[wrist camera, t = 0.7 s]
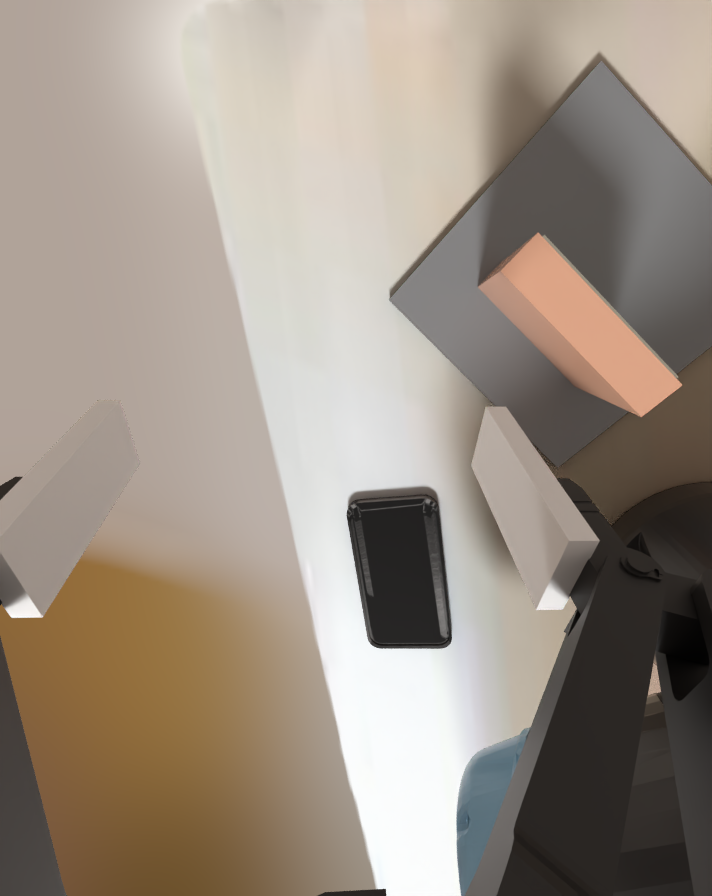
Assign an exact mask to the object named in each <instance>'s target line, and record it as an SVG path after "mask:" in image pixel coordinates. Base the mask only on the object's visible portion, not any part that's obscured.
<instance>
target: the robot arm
mask: <svg viewBox="0 0 712 896" xmlns="http://www.w3.org/2000/svg"><path fill="white" fill-rule="evenodd" d="M139 464H140V461H139V458H138V454H137V451H136V448H135V445H134V442H133V438H132V435H131V432H130V429H129V426H128V423H127V419H126V416H125V413H124V410H123V407H122V403H121V401H118V400H114V401H113V400H98V401H97V402H96V403H95V404H94V405H93V406H92V407H91V408H90V409H89V410H88V411H87V412H86V413H85V414H84V415H83V416H82V417H81V418H80V419H79V420H78V421H77V422H76V423H75V425H73V426H72V427H71V428H70V429H69V431H67V433H66V434H65V435H64V436H63V437H62V438H61V439H60V440H59V441H58V442H57V443H56V444H55V445H54V446H53V447H52V448H51V449H50V450H49V451H48V452H47V453H46V454H45V455H44V456H43V457H42V458H41V459H40V460H39V461H38V462H37V463H36V464H35V465H34V466H33V467H32V468H31V469H30V470H29V471H28V472H27V473H26V474H25V475H24V477H14V478H13V479H11V480H9V481H8V482H6V483H4V484H3V485H1V486H0V605H1V604H2V605H3V607H4V608H5V609H6V611H7V612H8V614H9V615H10V616H11V618H26V617H27V618H29V617H43V616H44V614H45V613H46V611H47V610H48V608H49V606H50V605H51V603H52V602H53V600H54V599H55V597H56V595H57V594H58V592H59V591H60V589H61V588H62V586H63V584H64V583H65V581H66V580H67V578H68V576H69V575H70V573H71V572H72V570H73V569H74V567H75V565H76V564H77V562H78V561H79V559H80V558H81V556H82V554H83V553H84V551H85V550H86V548H87V546H88V545H89V543H90V542H91V540H92V539H93V537H94V536H95V534H96V532H97V531H98V529H99V528H100V526H101V525H102V523H103V521H104V520H105V518H106V517H107V515H108V513H109V512H110V510H111V509H112V507H113V506H114V504H115V502H116V501H117V499H118V498H119V496H120V495H121V493H122V491H123V490H124V488H125V487H126V485H127V483H128V482H129V480H130V479H131V477H132V476H133V474H134V473H135V471H136V469H137V468H138V466H139ZM471 467H472V469H473V471H474V473H475V476H476V478H477V480H478V482H479V484H480V487H481V489H482V491H483V493H484V496H485V498H486V500H487V502H488V504H489V507H490V509H491V511H492V513H493V516H494V518H495V520H496V522H497V524H498V527H499V529H500V531H501V533H502V536H503V538H504V540H505V542H506V544H507V547H508V549H509V551H510V553H511V556H512V558H513V560H514V562H515V564H516V567H517V569H518V571H519V573H520V575H521V578H522V580H523V582H524V584H525V587H526V589H527V591H528V593H529V595H530V598H531V600H532V602H533V604H534V607H535V609H536V610H563V608H564V606H565V604H566V603H567V601H568V599H569V597H570V596H571V598H572V600H573V602H574V604H575V606H576V607H577V610H576V611H575V613H574V615H573V617H572V618H571V620H570V622H569V624H568V625H567V627H566V629H565V631H564V632H565V633H566V636H565V638H564V641H563V644H562V646H561V649H560V652H559V654H558V657H557V659H556V662H555V665H554V667H553V670H552V673H551V675H550V678H549V681H548V683H547V686H546V689H545V691H544V694H543V697H542V699H541V702H540V704H539V707H538V710H537V712H536V715H535V718H534V720H533V723H532V726H531V727H530V728H526V729H524V730H523V731H522V732H521V734H520V735H518V736H515V737H513V738H510V739H508V740H505V741H502V742H500V743H497V744H494V745H492V746H489V747H487V748H484V749H482V750H481V751H479V752H477V753H476V754H475V755H474V756H473V757H472V758H471V760H470V761H469V763H468V765H467V766H466V769H465V771H464V774H463V776H462V780H461V784H460V789H459V795H458V804H457V859H458V871H459V881H460V889H461V896H712V482H704V483H695V484H689V485H683V486H679V487H675V488H672V489H669V490H666V491H663V492H660V493H658V494H656V495H654V496H651V497H649V498H648V499H646V500H644V501H642V502H640V503H639V504H637V505H636V506H634V507H633V508H631V509H630V510H629V511H628V512H626V513H625V514H624V515H623V516H622V517H621V518H620V519H619V520H618V521H617V522H616V523H615V524H614V525H613V526H612V527H611V526H610V524H609V523H608V522H607V520H606V519H605V518H604V516H603V515H602V514H601V513H599V510H598V508H597V507H596V506H595V504H592V501H591V499H590V498H589V497H588V495H587V494H586V493H585V491H584V490H583V489H582V488H581V487H579V486H578V485H577V484H575V483H574V482H573V481H571V480H570V479H556V477H555V476H554V475H553V473H552V472H551V470H550V469H549V467H548V466H547V465H546V463H545V462H544V460H543V459H542V457H541V456H540V455H539V453H538V452H537V450H536V449H535V447H534V446H533V445H532V443H531V442H530V440H529V439H528V437H527V436H526V435H525V433H524V432H523V430H522V429H521V427H520V426H519V425H518V423H517V422H516V420H515V419H514V417H513V416H512V415H511V413H510V412H509V410H508V409H507V407H493V406H486V408H485V412H484V416H483V420H482V424H481V428H480V432H479V436H478V440H477V444H476V448H475V452H474V456H473V460H472V464H471ZM653 663H654V664H655V665H657V669H658V675H659V681H660V687H661V692H660V693H654V694H651V695H648V690H649V684H650V679H651V673H652V667H653ZM661 702H662V703H661ZM0 896H67V895H66V893H65V890H64V887H63V883H62V880H61V876H60V872H59V868H58V864H57V860H56V856H55V852H54V848H53V844H52V840H51V836H50V832H49V828H48V824H47V820H46V816H45V813H44V809H43V804H42V800H41V796H40V793H39V789H38V785H37V781H36V776H35V772H34V769H33V765H32V761H31V757H30V753H29V749H28V745H27V741H26V737H25V733H24V729H23V725H22V721H21V717H20V713H19V709H18V705H17V701H16V697H15V693H14V689H13V685H12V681H11V677H10V673H9V669H8V665H7V661H6V657H5V654H4V649H3V646H2V642H1V638H0ZM318 896H386V889H376V890H360V891H359V890H358V891H342V892H325V893H323V894H321V895H318Z"/></svg>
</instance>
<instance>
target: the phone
mask: <svg viewBox="0 0 712 896" xmlns="http://www.w3.org/2000/svg"><path fill="white" fill-rule="evenodd" d="M347 520H348V526H349V531H350V537H351V543H352V549H353V555H354V561H355V567H356V572H357V578H358V584H359V590H360V596H361V602H362V608H363V613H364V619H365V625H366V631H367V637H368V640H369V642H370V644H371V645H373V646H374V647H377V648H430V649H440V648H445V647H447V646H448V645H450V643H451V640H452V634H451V624H450V615H449V605H448V596H447V586H446V577H445V568H444V558H443V549H442V539H441V530H440V521H439V511H438V505H437V502H436V501H435V499H434V498H432V497H431V496H428V495H413V496H399V497H385V498H372V499H359V500H355V501H354V502H352V503H351V504H350V506H349V508H348V511H347Z"/></svg>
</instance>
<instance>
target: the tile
mask: <svg viewBox="0 0 712 896" xmlns="http://www.w3.org/2000/svg"><path fill="white" fill-rule="evenodd" d="M478 288H479V289H480V290H481V291H482V292H483V293H484V294H485V295H486V296H487V297H488V298H489V299H490V300H491V301H492V302H493V303H494V304H495V305H496V306H497V307H498V308H499V310H500V311H501V312H502V313H503V314H504V315H505V316H506V317H507V318H508V319H509V320H510V321H511V322H512V323H513V324H514V325H515V326H516V327H517V328H518V329H519V330H520V331H521V332H522V333H523V334H524V335H525V336H526V337H527V338H528V339H529V340H530V341H531V342H532V343H533V344H534V345H535V346H536V347H537V348H538V349H539V350H540V352H541V353H542V354H543V355H544V356H545V357H546V358H547V359H548V360H549V361H550V362H551V363H552V364H553V365H554V366H555V367H556V368H557V369H558V370H559V371H560V372H561V373H562V374H563V375H564V376H565V377H566V378H567V379H568V380H569V381H570V382H571V383H572V384H573V385H574V386H575V387H577V388H579V389H581V390H583V391H585V392H588V393H590V394H592V395H594V396H596V397H598V398H601V399H603V400H605V401H607V402H609V403H612V404H614V405H616V406H618V407H620V408H623V409H625V410H627V411H629V412H631V413H633V414H636V415H638V416H640V417H642V416H644V415H645V414H646V413H647V412H649V411H650V410H651V409H653V408H654V407H655V406H656V405H658V404H659V403H660V402H662V401H663V400H664V399H665V398H667V397H668V396H669V395H671V394H672V393H673V392H674V391H676V390H677V389H678V388H680V387H681V386H682V384H681V383H680V382H679V381H678V380H677V378H678V376H677V374H676V373H675V372H674V371H673V370H672V369H671V368H670V367H669V366H668V365H667V364H666V363H665V362H664V361H663V360H662V359H661V358H660V356H659V355H658V354H657V353H656V352H655V351H654V350H653V349H652V348H651V347H650V346H649V345H648V344H647V343H646V342H645V341H644V340H643V338H642V337H641V336H640V335H639V334H638V333H637V332H636V331H635V330H634V329H633V328H632V327H631V326H630V325H629V324H628V323H627V322H626V320H625V319H624V318H623V317H622V316H621V315H620V314H619V313H618V312H617V311H616V310H615V309H614V308H613V307H612V306H611V305H610V303H609V302H608V301H607V300H606V299H605V298H604V297H603V296H602V295H601V294H600V293H599V292H598V291H597V290H596V289H595V288H594V287H593V285H592V284H591V283H590V282H589V281H588V280H587V279H586V278H585V277H584V276H583V275H582V274H581V273H580V272H579V271H578V270H577V269H576V267H575V266H574V265H573V264H572V263H571V262H570V261H569V260H568V259H567V258H566V257H565V256H564V255H563V254H562V253H561V252H560V251H559V249H558V248H557V247H556V246H555V245H554V244H553V243H552V242H551V241H550V240H549V239H548V238H547V237H546V236H545V235H543V236H541V235H540V234H539V233H537V234H535V235H534V236H533V237H532V238H530V239H529V240H528V241H527V242H525V243H524V244H523V245H522V246H521V247H519V248H518V249H517V250H516V251H514V252H513V253H512V254H511V255H509V256H508V257H507V258H506V259H505V260H503V261H502V262H501V263H500V264H499V265H498V266H497V267H496V268H495V269H494V270H493V271H492V272H491V274H490V275H489V276H488V277H487V278H486V279H485V280H484V281H483V282H482V283H481V284H480V285H479V286H478Z"/></svg>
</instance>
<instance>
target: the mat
mask: <svg viewBox="0 0 712 896" xmlns="http://www.w3.org/2000/svg"><path fill="white" fill-rule="evenodd" d="M537 233H539V234H540V235H541V236H543V235H545V236H546V237H547V238H548V239H549V240H550V241H551V242H552V243H553V244H554V245H555V246H556V247H557V248H558V249H559V251H560V252H561V253H562V254H563V255H564V256H565V257H566V258H567V259H568V260H569V261H570V262H571V263H572V264H573V265H574V266H575V267H576V269H577V270H578V271H579V272H580V273H581V274H582V275H583V276H584V277H585V278H586V279H587V280H588V281H589V282H590V283H591V284H592V285H593V287H594V288H595V289H596V290H597V291H598V292H599V293H600V294H601V295H602V296H603V297H604V298H605V299H606V300H607V301H608V302H609V303H610V305H611V306H612V307H613V308H614V309H615V310H616V311H617V312H618V313H619V314H620V315H621V316H622V317H623V318H624V319H625V320H626V322H627V323H628V324H629V325H630V326H631V327H632V328H633V329H634V330H635V331H636V332H637V333H638V334H639V335H640V336H641V337H642V338H643V340H644V341H645V342H646V343H647V344H648V345H649V346H650V347H651V348H652V349H653V350H654V351H655V352H656V353H657V354H658V355H659V356H660V358H661V359H662V360H663V361H664V362H665V363H666V364H667V365H668V366H669V367H670V368H671V369H672V370H673V371H674V372H675V373H676V374H677V373H679V372H680V371H681V370H682V369H684V368H685V367H686V366H687V365H689V364H690V363H691V362H692V361H694V360H695V359H696V358H698V357H699V356H700V355H701V354H703V353H704V352H705V351H706V350H708V349H709V348H710V347H711V346H712V185H711V184H710V183H709V181H708V180H707V179H706V178H705V177H704V176H703V175H702V174H701V172H700V171H699V170H698V169H697V168H696V167H695V166H694V165H693V163H692V162H691V161H690V160H689V159H688V158H687V157H686V156H685V154H684V153H683V152H682V151H681V150H680V149H679V148H678V146H677V145H676V144H675V143H674V142H673V141H672V140H671V139H670V137H669V136H668V135H667V134H666V133H665V132H664V131H663V130H662V128H661V127H660V126H659V125H658V124H657V123H656V122H655V121H654V119H653V118H652V117H651V116H650V115H649V114H648V113H647V111H646V110H645V109H644V108H643V107H642V106H641V105H640V104H639V102H638V101H637V100H636V99H635V98H634V97H633V96H632V95H631V93H630V92H629V91H628V90H627V89H626V88H625V87H624V86H623V84H622V83H621V82H620V81H619V80H618V79H617V78H616V77H615V75H614V74H613V73H612V72H611V71H610V70H609V69H608V67H607V66H606V65H605V64H604V63H603V62H602V61H600V62H599V64H598V65H597V66H596V67H595V68H594V69H593V70H592V71H591V73H590V74H589V75H588V76H587V77H586V78H585V79H584V80H583V82H582V83H581V84H580V85H579V86H578V87H577V88H576V89H575V91H574V92H573V93H572V94H571V95H570V96H569V97H568V98H567V100H566V101H565V102H564V103H563V104H562V105H561V106H560V107H559V109H558V110H557V111H556V112H555V113H554V114H553V115H552V116H551V118H550V119H549V120H548V121H547V122H546V123H545V124H544V126H543V127H542V128H541V129H540V130H539V131H538V132H537V133H536V135H535V136H534V137H533V138H532V139H531V140H530V141H529V142H528V144H527V145H526V146H525V147H524V148H523V149H522V150H521V151H520V153H519V154H518V155H517V156H516V157H515V158H514V159H513V160H512V162H511V163H510V164H509V165H508V166H507V167H506V168H505V169H504V171H503V172H502V173H501V174H500V175H499V176H498V177H497V178H496V180H495V181H494V182H493V183H492V184H491V185H490V186H489V188H488V189H487V190H486V191H485V192H484V193H483V194H482V195H481V197H480V198H479V199H478V200H477V201H476V202H475V203H474V204H473V206H472V207H471V208H470V209H469V210H468V211H467V212H466V213H465V215H464V216H463V217H462V218H461V219H460V220H459V221H458V222H457V224H456V225H455V226H454V227H453V228H452V229H451V230H450V231H449V233H448V234H447V235H446V236H445V237H444V238H443V239H442V240H441V242H440V243H439V244H438V245H437V246H436V247H435V248H434V250H433V251H432V252H431V253H430V254H429V255H428V256H427V257H426V259H425V260H424V261H423V262H422V263H421V264H420V265H419V266H418V268H417V269H416V270H415V271H414V272H413V273H412V274H411V275H410V277H409V278H408V279H407V280H406V281H405V282H404V283H403V284H402V286H401V287H400V288H399V289H398V290H397V291H396V292H395V293H394V295H393V296H392V297H391V298H390V299H389V300H390V301H391V302H392V303H393V304H394V305H395V306H396V307H397V308H398V309H399V310H400V311H401V312H402V313H403V314H404V315H405V316H406V317H407V318H408V319H409V320H410V321H411V322H412V323H413V324H414V325H415V326H416V327H417V328H418V329H419V330H420V331H421V332H422V333H423V334H424V335H425V336H426V337H427V338H428V339H429V340H430V341H431V342H432V343H433V344H434V345H435V346H436V347H437V348H438V349H439V350H440V351H441V352H442V353H443V354H444V355H445V356H446V357H447V358H448V359H449V360H450V361H451V362H452V363H453V364H454V365H455V366H456V367H457V368H458V369H459V370H460V371H461V372H462V373H463V374H464V375H465V376H466V377H467V378H468V379H469V380H470V381H471V382H472V383H473V384H474V385H475V386H476V387H477V388H478V389H479V390H480V391H481V392H482V393H483V394H484V395H485V396H486V397H487V398H488V399H489V400H490V401H491V402H492V403H493V404H494V405H495V406H496V407H507V409H508V410H509V412H510V413H511V415H512V416H513V417H514V419H515V420H516V422H517V423H518V425H519V426H520V427H521V429H522V430H523V432H524V433H525V435H526V436H527V437H528V439H529V440H530V441H531V442H532V443H533V444H534V445H535V446H536V447H537V448H538V449H539V450H540V451H541V452H542V453H543V454H544V455H545V456H546V457H547V458H548V459H549V460H550V461H551V462H552V463H553V464H554V465H555V466H556V467H557V468H558V467H560V466H561V465H562V464H563V463H565V462H566V461H567V460H568V459H570V458H571V457H572V456H573V455H575V454H576V453H577V452H579V451H580V450H581V449H582V448H584V447H585V446H586V445H587V444H589V443H590V442H591V441H592V440H594V439H595V438H596V437H598V436H599V435H600V434H601V433H603V432H604V431H605V430H606V429H608V428H609V427H610V426H611V425H613V424H614V423H615V422H617V421H618V420H619V419H620V418H622V417H623V416H624V415H625V414H627V413H628V412H629V411H627V410H625V409H623V408H620V407H618V406H616V405H614V404H612V403H609V402H607V401H605V400H603V399H601V398H598V397H596V396H594V395H592V394H590V393H588V392H585V391H583V390H581V389H579V388H577V387H575V386H574V385H573V384H572V383H571V382H570V381H569V380H568V379H567V378H566V377H565V376H564V375H563V374H562V373H561V372H560V371H559V370H558V369H557V368H556V367H555V366H554V365H553V364H552V363H551V362H550V361H549V360H548V359H547V358H546V357H545V356H544V355H543V354H542V353H541V352H540V350H539V349H538V348H537V347H536V346H535V345H534V344H533V343H532V342H531V341H530V340H529V339H528V338H527V337H526V336H525V335H524V334H523V333H522V332H521V331H520V330H519V329H518V328H517V327H516V326H515V325H514V324H513V323H512V322H511V321H510V320H509V319H508V318H507V317H506V316H505V315H504V314H503V313H502V312H501V311H500V310H499V308H498V307H497V306H496V305H495V304H494V303H493V302H492V301H491V300H490V299H489V298H488V297H487V296H486V295H485V294H484V293H483V292H482V291H481V290H480V289H479V288H478V286H479V285H480V284H481V283H482V282H483V281H484V280H485V279H486V278H487V277H488V276H489V275H490V274H491V272H492V271H493V270H494V269H495V268H496V267H497V266H498V265H499V264H500V263H501V262H502V261H503V260H505V259H506V258H507V257H508V256H509V255H511V254H512V253H513V252H514V251H516V250H517V249H518V248H519V247H521V246H522V245H523V244H524V243H525V242H527V241H528V240H529V239H530V238H532V237H533V236H534V235H535V234H537Z"/></svg>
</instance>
